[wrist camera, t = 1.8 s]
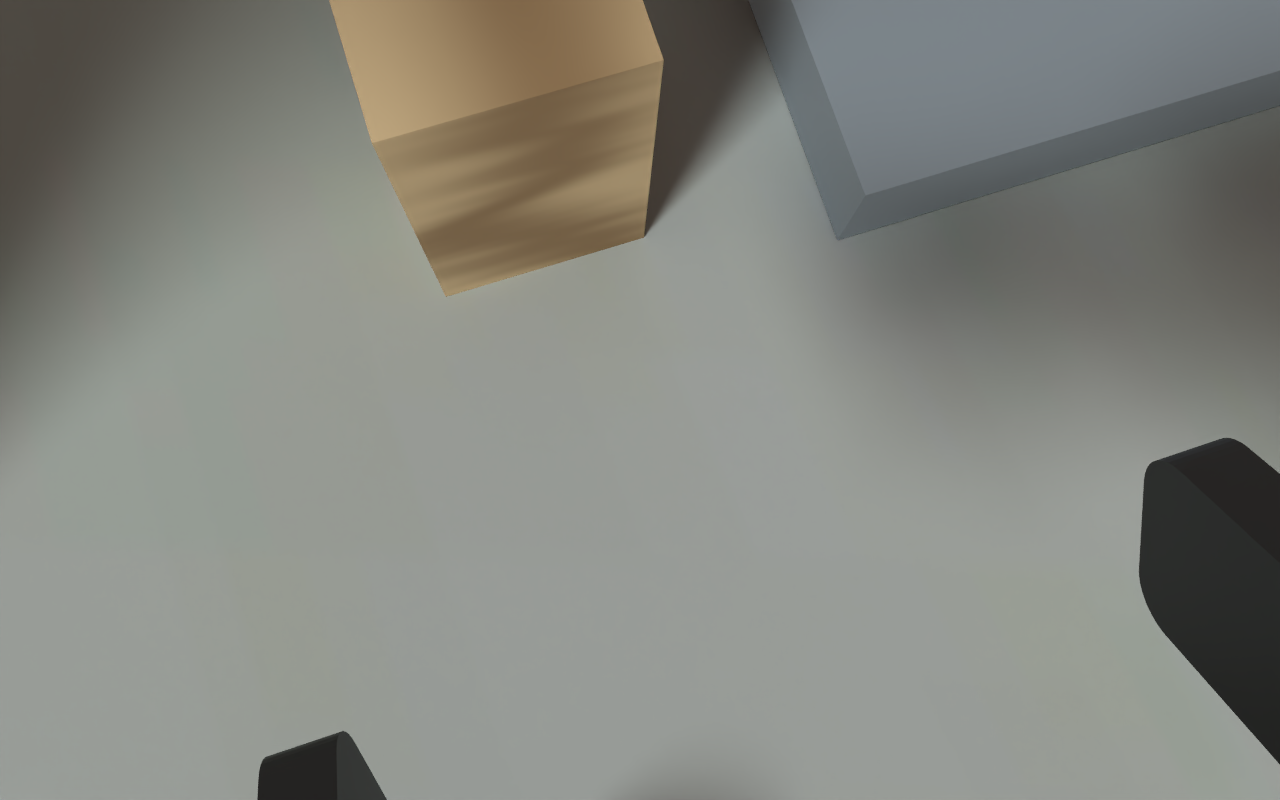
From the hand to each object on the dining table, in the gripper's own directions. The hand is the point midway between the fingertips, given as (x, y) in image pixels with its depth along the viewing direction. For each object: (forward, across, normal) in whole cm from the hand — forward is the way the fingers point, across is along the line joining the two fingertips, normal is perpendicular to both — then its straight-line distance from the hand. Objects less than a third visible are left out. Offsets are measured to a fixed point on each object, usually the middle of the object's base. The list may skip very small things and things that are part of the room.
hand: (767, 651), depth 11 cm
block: (+19, 0, +2) cm, 19 cm away
